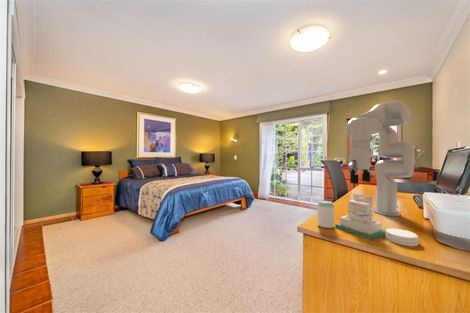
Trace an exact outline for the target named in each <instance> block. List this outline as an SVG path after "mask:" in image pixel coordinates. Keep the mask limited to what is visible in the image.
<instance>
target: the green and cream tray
mask: <svg viewBox="0 0 470 313" xmlns="http://www.w3.org/2000/svg"><path fill="white" fill-rule="evenodd" d="M334 227H335V228H336V229H340V230H342V231H345V232H348V233H351V234H354V235H358V236H360V237H362V238H365V239H368V240H371V241H373V240H376V239H379V238H381V237H383V236H386V230H387V229H382V222H381V221H378V220H373V219H372V224H371V225H367V224H364V223H360V222H357V221H353V220H350V219H348V214H347V215H343V216H340V218H339V222H338V223H334Z"/></svg>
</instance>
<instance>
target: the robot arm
mask: <svg viewBox="0 0 470 313" xmlns="http://www.w3.org/2000/svg"><path fill="white" fill-rule="evenodd" d="M411 120H412V113H411V112H410V110H409V108H408V106H407V104H406V103H405V102H404V101H403V100H392V101H386V102H385V101H384V102H381V103H378V104H375V105H374V106H373V107H372V108H371V109H370V110H369V111H367V112H364V113H362V114H359V115H356V116H354V117H352V118H351V119H350V120H348V122H347V124H346V125H345V132H346V133H347V135H348V136H350V150H349V156H348V165H347V166H348V172H349V175H350V176H349V177H350V178H349V179H350V180H349V181H350V184H353V185H355V184H356V185H358V184H359V171H362V174H361V176H362V177H361V179H362V180H361V181H362V182H364V183H365V182H367V183H370V182H371V173H372V172H371V170H372V164H373V163H371V161H372V160H371V152H370V149H371V135H376V134H378V136H379V140H378V143H379V145H378V154H379V157H381V158H386V159H382V160H379V161H377V162H375V164H374V170H375V176H376V208H373V212H374V213H375V214H378V215H382V216H390V217H398V216H401V212H400V211H398V208H399V206H398V184H397V182H396V180H395V179H394V177H395V178H411V177H413V175H414V173H415V172H414V171H415V146H414V144H413V142H411V141H398V133H397V131H396V130H395V129H393V127H395V126H397V127H398V126H404V125H405V126H406V125H408V124H409V123H410V122H411ZM394 159H396V160H394ZM398 159H400V160H398ZM401 159H402V160H401Z"/></svg>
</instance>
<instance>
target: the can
mask: <svg viewBox="0 0 470 313" xmlns="http://www.w3.org/2000/svg"><path fill="white" fill-rule="evenodd" d="M317 225H318V226H319V227H320V228H322V227H323V228H322V229H327V228H330V229H332V228H334V227H335V206H334V204H333V201H330V200H319V202H318V203H317Z"/></svg>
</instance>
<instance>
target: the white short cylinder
mask: <svg viewBox="0 0 470 313" xmlns="http://www.w3.org/2000/svg"><path fill="white" fill-rule="evenodd" d="M385 230H386V235H385V238H386V239H387V240H388V241H389V242H392V243H394V244H397V245H399V246H400V245H401V246H405V247H417V246H418V245H419V235H417V234H416V233H414V232H412V231H410V230H406V229H403V228H402V229H401V228H393V227H390V228H387V229H385Z"/></svg>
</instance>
